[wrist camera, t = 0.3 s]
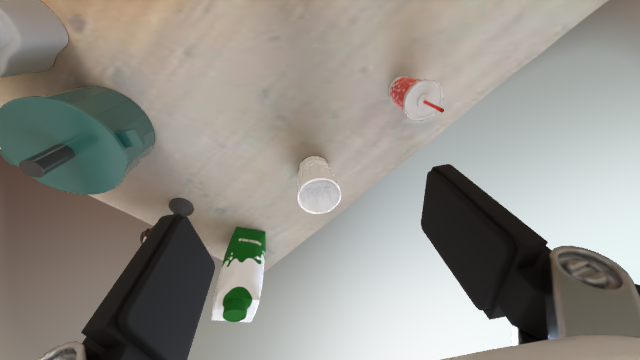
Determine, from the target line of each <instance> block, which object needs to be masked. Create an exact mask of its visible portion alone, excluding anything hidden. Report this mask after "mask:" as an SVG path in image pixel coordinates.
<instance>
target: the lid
mask: <svg viewBox="0 0 640 360" xmlns="http://www.w3.org/2000/svg"><path fill="white" fill-rule="evenodd" d="M0 147H1V149H2V150H3V152H4V153H5V154H6V156H7V157H8V158H9V159H10V160H11V161H12V162H13V163H14V164H15V165H16V166H17V167H19V168H20V170H21V171H22V172H23V173H24V174H26V175H28V176H31V177H32V178H34V179H36V180H37V181H40V182H41V183H43V184H46V185H48V186H50V187H53V188H56V189H58V190H61V191H65V192H70V193H76V194H99V193H104V192H107V191H109V190H111V189H113V188H115V187H116V186H117V185H119V184H120V183H121V182H122V181H123V179H124V178H125V176H126V174H127V170H128V159H127V154H126V152H125V149H124V147H123V145H122V143H121V142H120V140H119V139H118V137H117V136H116V135H115V134H114V132H113V131H112V130H111V129H110V128H109V127H108V126H107V125H106V124H105V123H103V122H102V121H101V120H99V119H98V118H97V117H95V116H94V115H92V114H91V113H89V112H88V111H86V110H84V109H82V108H80V107H78V106H76V105H74V104H71V103H68V102H66V101H63V100H59V99H55V98H50V97H43V96H29V97H23V98H18V99H14V100H12V101H9V102H7V103H6V104H4V105H3V106H2V107H1V108H0Z"/></svg>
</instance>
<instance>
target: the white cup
mask: <svg viewBox="0 0 640 360" xmlns="http://www.w3.org/2000/svg"><path fill="white" fill-rule="evenodd" d="M340 199H341V191H340V188H339V186H338V183H337V181H336V178H335V176H334V174H333V172H332V170H331V168H330V166H329V164H328V162H327V161H326V160H325V159H324V158H321V157H319V156H310V157H308V158H306V159H304V160H303V161H302V162H301V164H300V166H299V170H298V183H297V200H298V203H299V205H300V207H301V208H302V209H303V210H305V211H307V212H309V213H313V214H322V213H326V212H329V211H331V210H332V209H334V208H335V207H336V206H337V205H338V203H339V201H340Z"/></svg>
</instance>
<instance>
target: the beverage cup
mask: <svg viewBox="0 0 640 360" xmlns="http://www.w3.org/2000/svg"><path fill="white" fill-rule="evenodd" d="M388 94H389V97H390V99H391V100H392V101H393V102H394V103H396V104H397V105H398V106H399V107H400V108H401V109H402V110H404V112H405V113H406V115H407V116H408V117H409V118H411V119H413V120H416V121H422V120H425V119H428V118H430V117H431V116H433V115H434V114H435V113H436V112H437V111H440V112H443V111H444V109H443V108H441V107H440V106H441V104H442V101H443V89H442V87H441V85H440V84H439V83H437V82H436V81H434V80H426V79H424V80H420V79H415V78H411V77H406V76H400V77H397V78H396V79H394V80H393V81H392V82H391V84H390V86H389V89H388Z"/></svg>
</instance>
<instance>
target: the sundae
mask: <svg viewBox="0 0 640 360" xmlns="http://www.w3.org/2000/svg"><path fill="white" fill-rule="evenodd" d="M169 208H170V210H171V211H172V212H173V213H174V214H181V215H183V216H188V215H190V214H192V213H193V210H194V208H193V205H192V204H191V203H190V202H189V201H187V200H185V199H181V198H177V199H173V200H172V201H171V202H170V203H169ZM166 216H167V215H166ZM155 225H156V224H155ZM153 228H154V227H153ZM153 228H151V229H147V230H146V231H144V232H142V234H141V236H140V241H141V244H143V242H144V241H145V239H146V238H147V236H148V235H149V234H150V232H151V231H152V229H153Z"/></svg>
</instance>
